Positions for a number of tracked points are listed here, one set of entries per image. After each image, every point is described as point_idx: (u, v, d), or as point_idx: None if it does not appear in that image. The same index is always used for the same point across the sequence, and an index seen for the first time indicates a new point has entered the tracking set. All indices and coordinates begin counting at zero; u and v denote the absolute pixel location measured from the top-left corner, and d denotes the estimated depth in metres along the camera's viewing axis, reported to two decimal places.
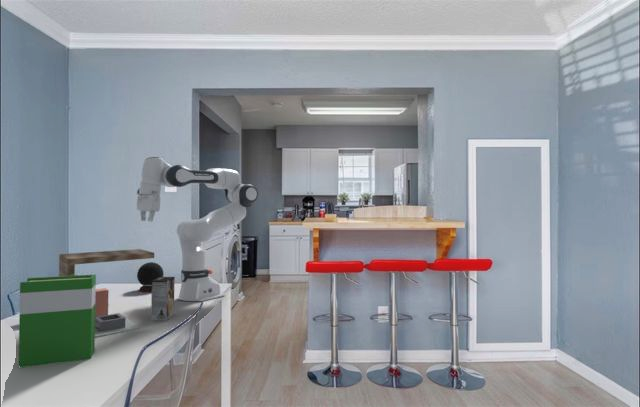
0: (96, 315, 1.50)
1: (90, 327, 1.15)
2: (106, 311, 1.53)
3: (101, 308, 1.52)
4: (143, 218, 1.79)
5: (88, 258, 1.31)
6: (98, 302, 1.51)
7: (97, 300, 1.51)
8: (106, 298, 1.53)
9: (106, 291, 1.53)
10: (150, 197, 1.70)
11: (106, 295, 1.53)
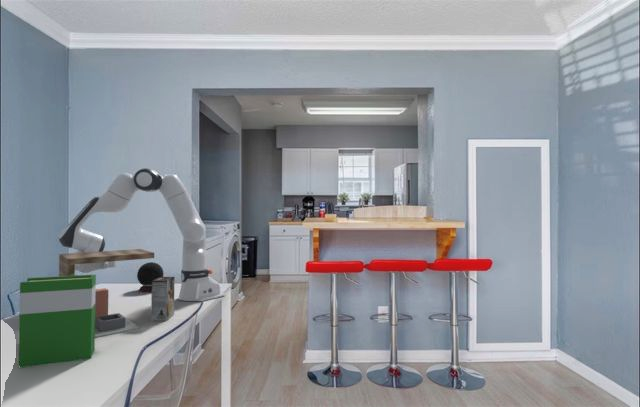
0: (96, 315, 1.50)
1: (90, 327, 1.15)
2: (106, 311, 1.53)
3: (101, 308, 1.52)
4: (103, 265, 1.66)
5: (88, 258, 1.31)
6: (98, 302, 1.51)
7: (97, 300, 1.51)
8: (106, 298, 1.53)
9: (106, 291, 1.53)
10: None
11: (106, 295, 1.53)
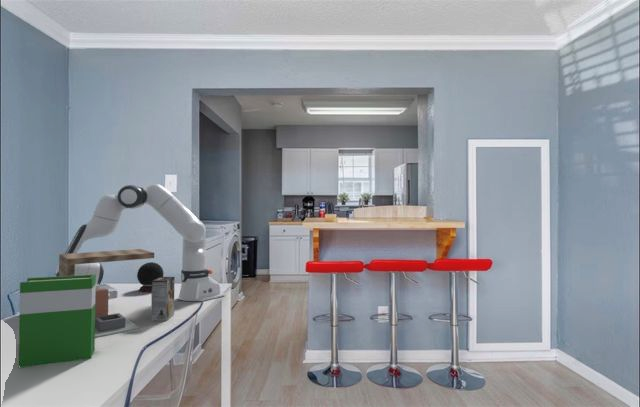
0: (96, 315, 1.50)
1: (90, 327, 1.15)
2: (106, 311, 1.53)
3: (101, 308, 1.52)
4: None
5: (88, 258, 1.31)
6: (98, 302, 1.51)
7: (97, 300, 1.51)
8: (106, 298, 1.53)
9: (106, 291, 1.53)
10: None
11: (106, 295, 1.53)
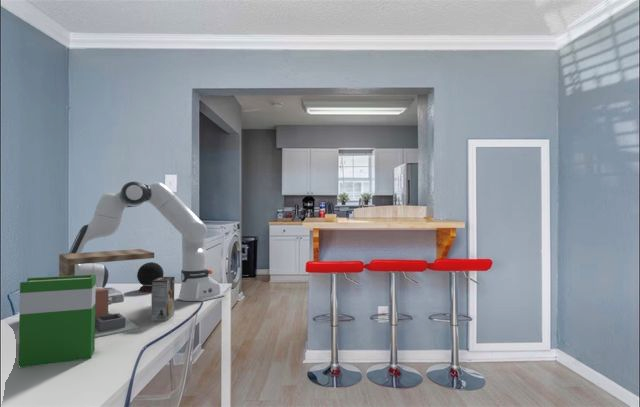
0: (96, 315, 1.50)
1: (90, 327, 1.15)
2: (106, 311, 1.53)
3: (101, 308, 1.52)
4: None
5: (88, 258, 1.31)
6: (98, 302, 1.51)
7: (97, 300, 1.51)
8: (106, 298, 1.53)
9: (106, 291, 1.53)
10: None
11: (106, 295, 1.53)
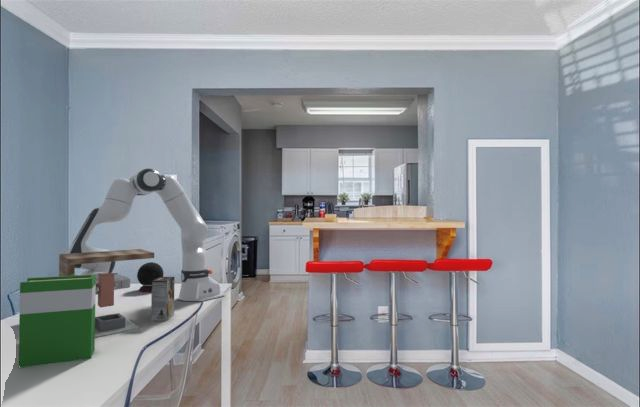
0: (101, 300, 1.44)
1: (90, 327, 1.15)
2: (112, 296, 1.47)
3: (107, 293, 1.46)
4: None
5: (88, 258, 1.31)
6: (104, 287, 1.45)
7: (102, 284, 1.44)
8: (112, 283, 1.47)
9: (112, 275, 1.47)
10: None
11: (112, 279, 1.47)
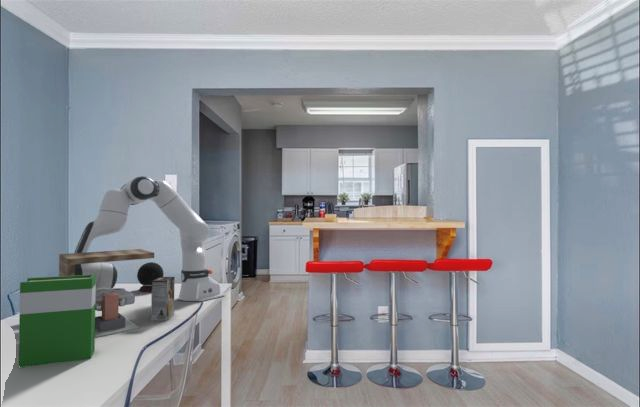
0: None
1: (90, 327, 1.15)
2: (116, 317, 1.42)
3: (111, 314, 1.41)
4: (119, 304, 1.45)
5: (88, 258, 1.31)
6: (108, 308, 1.41)
7: (107, 306, 1.40)
8: (116, 303, 1.42)
9: (116, 296, 1.42)
10: None
11: (116, 300, 1.42)
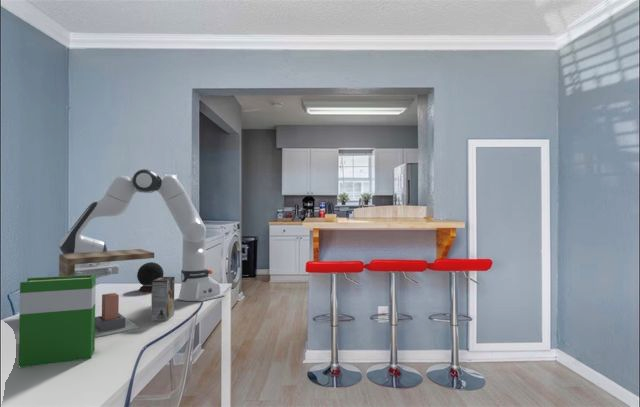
0: None
1: (90, 327, 1.15)
2: (116, 317, 1.42)
3: (111, 314, 1.41)
4: (106, 272, 1.63)
5: (88, 258, 1.31)
6: (108, 308, 1.41)
7: (107, 306, 1.40)
8: (116, 303, 1.42)
9: (116, 296, 1.42)
10: None
11: (116, 300, 1.42)
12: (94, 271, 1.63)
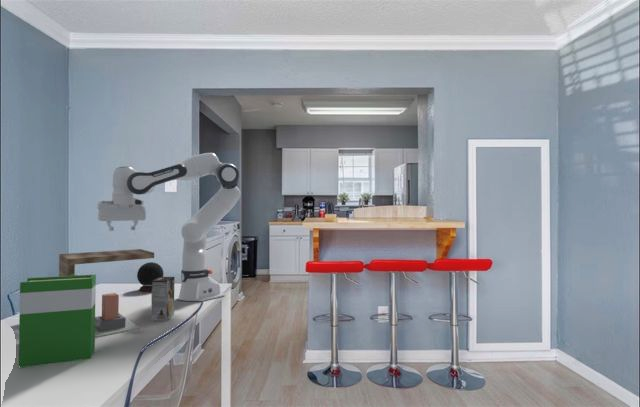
0: None
1: (90, 327, 1.15)
2: (116, 317, 1.42)
3: (111, 314, 1.41)
4: (131, 227, 1.83)
5: (88, 258, 1.31)
6: (108, 308, 1.41)
7: (107, 306, 1.40)
8: (116, 303, 1.42)
9: (116, 296, 1.42)
10: None
11: (116, 300, 1.42)
12: None
